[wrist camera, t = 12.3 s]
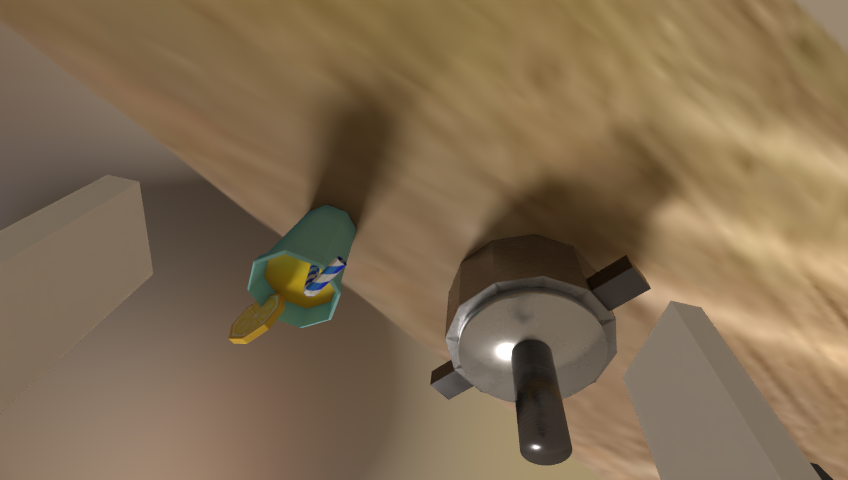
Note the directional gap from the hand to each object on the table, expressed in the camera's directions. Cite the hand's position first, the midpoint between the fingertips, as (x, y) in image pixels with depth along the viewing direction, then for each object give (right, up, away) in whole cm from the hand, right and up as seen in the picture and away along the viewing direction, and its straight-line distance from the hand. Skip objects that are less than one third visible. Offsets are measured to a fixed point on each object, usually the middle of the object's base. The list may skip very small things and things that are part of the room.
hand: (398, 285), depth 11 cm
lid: (+10, -8, +29) cm, 32 cm away
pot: (+11, -5, +35) cm, 37 cm away
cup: (-8, +3, +33) cm, 34 cm away
